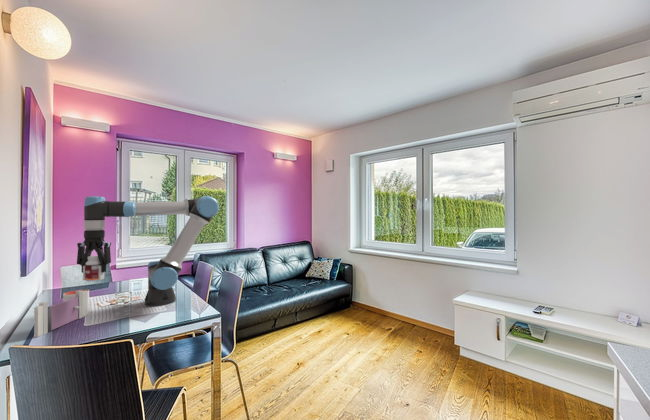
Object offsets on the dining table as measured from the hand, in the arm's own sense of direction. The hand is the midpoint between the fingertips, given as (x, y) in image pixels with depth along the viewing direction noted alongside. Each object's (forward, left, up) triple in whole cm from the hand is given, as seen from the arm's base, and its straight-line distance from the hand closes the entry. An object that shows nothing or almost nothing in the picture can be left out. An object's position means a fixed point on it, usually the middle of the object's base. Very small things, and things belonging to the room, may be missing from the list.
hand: (93, 279), depth 131 cm
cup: (+19, -14, -19) cm, 30 cm away
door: (+9, +5, -19) cm, 21 cm away
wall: (+10, +4, -19) cm, 22 cm away
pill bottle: (0, 0, -1) cm, 1 cm away
